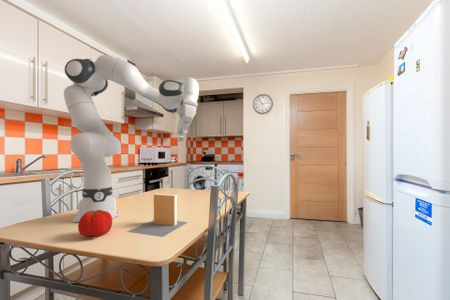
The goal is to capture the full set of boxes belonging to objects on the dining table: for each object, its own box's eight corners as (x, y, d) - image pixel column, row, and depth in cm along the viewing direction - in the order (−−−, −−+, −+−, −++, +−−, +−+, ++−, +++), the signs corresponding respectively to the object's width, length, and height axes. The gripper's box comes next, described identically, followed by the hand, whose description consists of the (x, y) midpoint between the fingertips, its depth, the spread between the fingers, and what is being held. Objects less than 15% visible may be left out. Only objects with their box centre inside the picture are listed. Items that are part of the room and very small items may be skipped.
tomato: (77, 234, 84) (77, 210, 85) (109, 228, 91) (109, 206, 91) (79, 243, 76) (79, 217, 76) (115, 236, 82) (115, 212, 83)
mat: (156, 219, 103) (156, 218, 103) (188, 223, 97) (188, 222, 97) (126, 232, 86) (126, 231, 86) (162, 238, 80) (162, 236, 80)
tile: (156, 221, 98) (156, 193, 98) (177, 224, 95) (176, 195, 95) (153, 223, 96) (153, 194, 96) (174, 225, 93) (174, 195, 93)
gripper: (176, 117, 113) (171, 143, 109) (184, 97, 95) (179, 127, 90) (188, 120, 115) (184, 146, 111) (198, 101, 97) (194, 130, 92)
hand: (182, 137), depth 100 cm, fingers open, 8 cm apart
